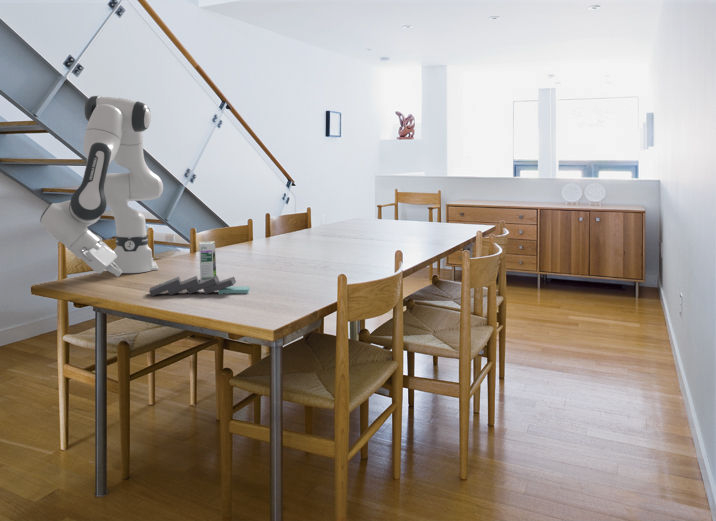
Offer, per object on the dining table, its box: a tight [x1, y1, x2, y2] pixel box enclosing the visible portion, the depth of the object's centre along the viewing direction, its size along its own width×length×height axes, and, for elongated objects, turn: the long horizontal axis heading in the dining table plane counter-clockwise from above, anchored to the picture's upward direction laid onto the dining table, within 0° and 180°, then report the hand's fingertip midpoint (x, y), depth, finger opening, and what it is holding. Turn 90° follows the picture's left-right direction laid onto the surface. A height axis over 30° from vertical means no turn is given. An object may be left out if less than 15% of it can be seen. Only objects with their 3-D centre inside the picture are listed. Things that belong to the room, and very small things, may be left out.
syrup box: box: [198, 241, 217, 282], centre depth 214 cm, size 6×6×14 cm
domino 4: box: [202, 276, 237, 295], centre depth 195 cm, size 2×5×10 cm
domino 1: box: [148, 276, 182, 298], centre depth 193 cm, size 2×5×10 cm
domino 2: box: [167, 275, 200, 296], centre depth 194 cm, size 2×5×10 cm
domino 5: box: [217, 286, 250, 295], centre depth 197 cm, size 2×5×10 cm
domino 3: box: [186, 275, 220, 295], centre depth 195 cm, size 2×5×10 cm
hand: (120, 274), depth 189 cm, fingers closed
